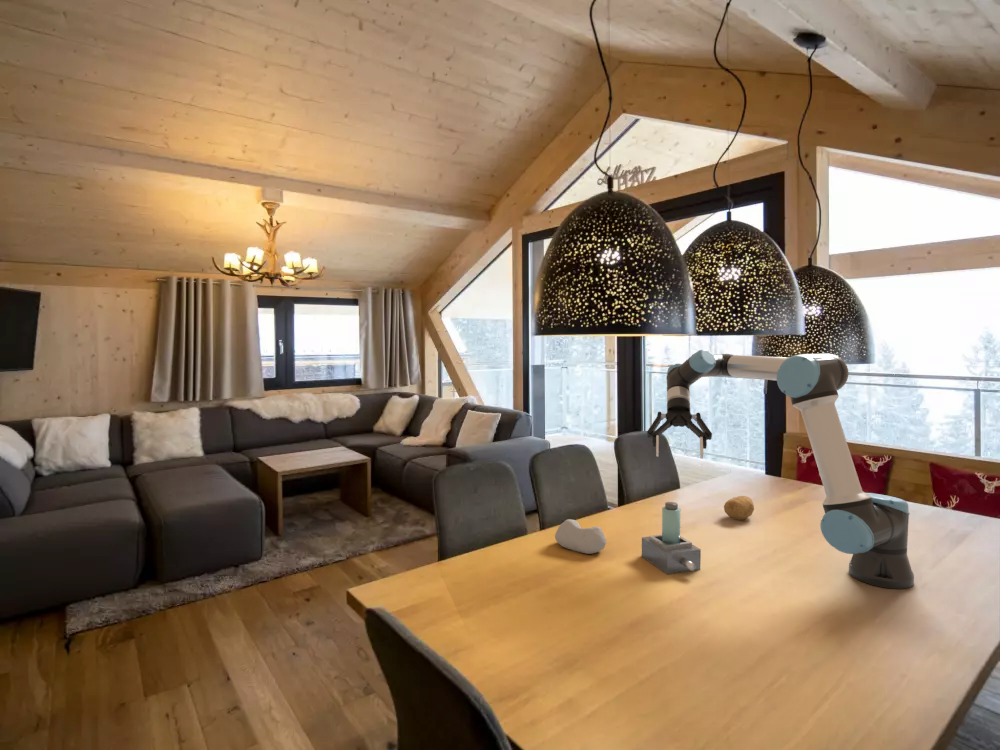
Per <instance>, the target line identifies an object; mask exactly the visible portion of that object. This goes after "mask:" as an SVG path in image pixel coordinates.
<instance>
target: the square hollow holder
mask: <svg viewBox="0 0 1000 750" xmlns="http://www.w3.org/2000/svg"><path fill="white" fill-rule="evenodd" d="M701 550H702V549H701V548H699V547H697V546H696V545H694V544H693V542H691V541H690V540H688V539H687V538H685V537H684V536H683V537H682V535H680V543H675V544H665V543H663V542H662V534H656V535H649V536H642V537H641V557H642V558H643V559H645V560H646V561H648V562H649V563H650V564H652V565H653V566H655V567H656V568H658V569H659V570H660V571H662V572H663V573H665V574H666V575H672V574H679V573H687V572H693V571H694V572H695V571H699V570H701V558H702V557H701V555H702V554H701Z"/></svg>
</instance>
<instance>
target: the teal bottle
mask: <svg viewBox="0 0 1000 750" xmlns="http://www.w3.org/2000/svg"><path fill="white" fill-rule="evenodd" d="M661 513H662V515H661V518H662V519H661V535H662V542H663V543H665V544H675V543H680V536H681V508H680V507H679V504H678V503H677V502H674V501H666V502H665V503H664V506H663V507H662V511H661Z"/></svg>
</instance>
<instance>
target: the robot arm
mask: <svg viewBox="0 0 1000 750" xmlns="http://www.w3.org/2000/svg"><path fill="white" fill-rule="evenodd" d="M849 373H850V372H849V368H848V365H847V363H846V362H845V361H844V360H843V359H842V358H840V357H839V356H838V355H836V354H833V353H800V354H797V355H791V356H790V357H786V356H784V357H782V356H764V355H744V354H743V355H742V354H741V355H739V354H732V353H731V354H729V353H721V354H720V353H719V354H713V353H712V352H711V351H709V350H706V349H699V350H697V351H696V352H695V353H693V354H691V356H689V358H688V359H686V360H685V361H684V362H683V363H674V364H671V365H670V366H669V367H668V368H667V372H666V402H667V403H666V413H662V412H661V411H658V412H657V416H656V418H655V420H653V422H652V423H651V425H650V427H649V428H648V429H647V432H646V433H647V435H646V436H647V438H651V439H652V447H654V448H655V450H656V451H655V453H656V454H655V456H656V457H657V458H659V453H660V451H659V445H660V444H659V443H660V442H659V441H660V439H659V438H660V436H661V435H662V434H664V433H665V432H666V430H668V429H670V428H671V427H672V426H673V427H681V428H682V427H683V428H684V427H686V428H687V429H689V430H690V431H691V432H692V433H693V434H695V436H697V438H699V454H700V455H699V456H700V459H704V450H705V449H707V440H709V441H710V440H712V438H713V433H712V432H711V430H710V429H709V428H708V426H707V424H706V423H705V422H704V420H703V418H702V415H701V413H700V412H696V414H695V413H694V414H692V413H691V403H690V402H691V399H690V398H691V396H690V386H692V385H693V384H694V383H695V382H697V381H698V380H700V379H701V378H704V377H705V378H706V377H707V378H708V377H722V376H723V377H732V378H733V377H734V378H735V377H736V378H744V379H745V378H746V379H755V380H766V381H768V380H769V381H776V382H777V383H776V384H777V386H778V388H779V390H780V392H781V393H783V394H785V395H786V396H787V397H789V398H790V401H791V405H792V407H793V408H795V409H797V410H799V411H800V413H801V417H802V421H803V424H804V428H805V431H806V433H807V437H808V441H809V443H810V446H811V450H812V453H813V456H814V460H815V463H816V465H817V468H818V473H819V476H820V479H821V483H822V487H823V489H824V492H825V498H824V500H823V501H822V507H823V510H824V514H823V516H822V519H821V520H820V525H819V526H820V532H821V534H822V537H823V538H824V540H825V541H826V542H827V543H828V544H829V546H831V547H833V548H834V549H836V550H837V551H839V552H841V553H842V554H843V553H844V554H847V555H848V554H849V555H852V557H851V558H850V561H849V563H848V574H849V575H850V576H851V577H853V578H854V579H856V580H857V581H860V582H862V583H865V584H868V585H871V586H876V587H880V588H886V589H895V590H896V589H897V590H900V589H901V590H902V589H909V588H911V587H913V586H914V585H915V584H914V583H915V575H914V572H913V570H912V567H911V563H910V560H909V559H910V558H909V557H908V540H909V539H908V538H909V519H910V518H909V517H910V512H909V510H910V509H909V503H908V502H907V501H905V500H904V499H902V498H898V497H894V496H891V495H886V494H885V495H884V494H881V493H880V494H879V493H874V492H864V491H863V487H862V486H861V483H860V480H859V476H858V473H857V471H856V470H857V469H856V467H855V464H854V461H853V458H852V453H851V451H850V448H849V445H848V442H847V438H846V436H845V433H844V429H843V426H842V424H841V423H842V422H841V420H840V417H839V413H838V411H837V408H836V407H837V406H836V404H835V403H836V401H837V400H838V398H839V393H838V391H839V390H840V389H842V388H843V387H844V386H845V385H846V383H847V381H848V378H849ZM664 419H666V420H665V422H664V423H662V424H661V425H660V423H661V421H663V420H664ZM692 420H694V421H695V422H696V424H697V425H698V426H697V425H696V424H695V423H693V421H692ZM659 425H660V426H659Z"/></svg>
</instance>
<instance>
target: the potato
mask: <svg viewBox="0 0 1000 750" xmlns="http://www.w3.org/2000/svg"><path fill="white" fill-rule="evenodd" d="M723 509H724V512H725V514H726V515H727V517H728V516H729V517H730V518H731V519H734V520H745V519H747V518H749V517H752V515H753V513H754V510H755V504H754V502H753V500H752V498H750V497H749V496H747V495H739V496H735V497H732V498H730V499H728V500H726V501H725V503H724V504H723Z"/></svg>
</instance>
